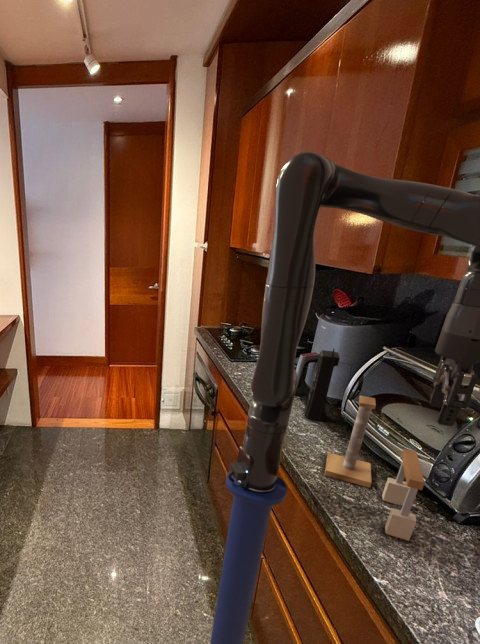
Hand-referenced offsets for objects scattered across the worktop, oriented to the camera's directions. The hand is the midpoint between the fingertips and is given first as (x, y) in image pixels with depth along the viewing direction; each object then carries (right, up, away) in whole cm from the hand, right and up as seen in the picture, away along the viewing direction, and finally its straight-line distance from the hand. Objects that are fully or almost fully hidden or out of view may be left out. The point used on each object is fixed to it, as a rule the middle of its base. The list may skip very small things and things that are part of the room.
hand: (440, 415), depth 72 cm
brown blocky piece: (+3, -24, +15) cm, 28 cm away
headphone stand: (+2, -18, +31) cm, 35 cm away
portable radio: (+11, -5, +61) cm, 62 cm away
